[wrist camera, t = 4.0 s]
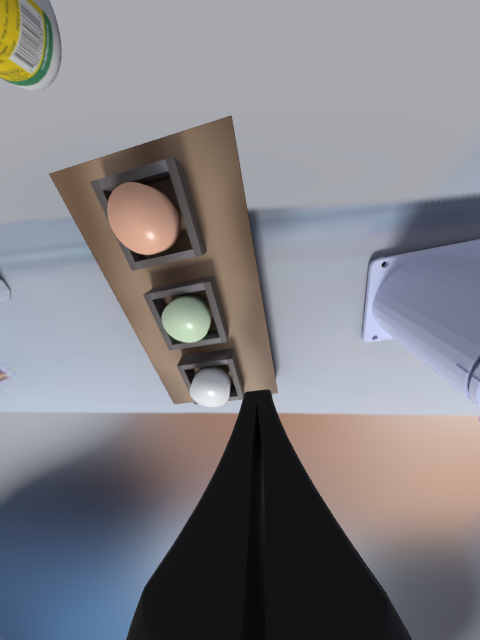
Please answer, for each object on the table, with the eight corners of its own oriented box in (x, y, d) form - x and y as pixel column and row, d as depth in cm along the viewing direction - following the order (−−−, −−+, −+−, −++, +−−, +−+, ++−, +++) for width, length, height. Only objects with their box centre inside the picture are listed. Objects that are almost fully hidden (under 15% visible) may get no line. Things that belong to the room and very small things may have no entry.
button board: (234, 130, 12) (228, 99, 9) (275, 379, 22) (279, 405, 19) (74, 180, 14) (23, 168, 11) (179, 390, 24) (169, 416, 21)
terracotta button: (168, 179, 11) (156, 173, 10) (188, 244, 13) (180, 247, 11) (113, 195, 11) (94, 191, 10) (139, 255, 13) (126, 260, 12)
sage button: (205, 289, 15) (200, 297, 13) (217, 328, 16) (214, 339, 15) (162, 297, 15) (153, 305, 14) (178, 335, 17) (172, 345, 15)
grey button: (226, 363, 17) (223, 376, 16) (234, 391, 19) (233, 405, 17) (189, 368, 18) (183, 381, 16) (200, 395, 19) (196, 408, 18)
